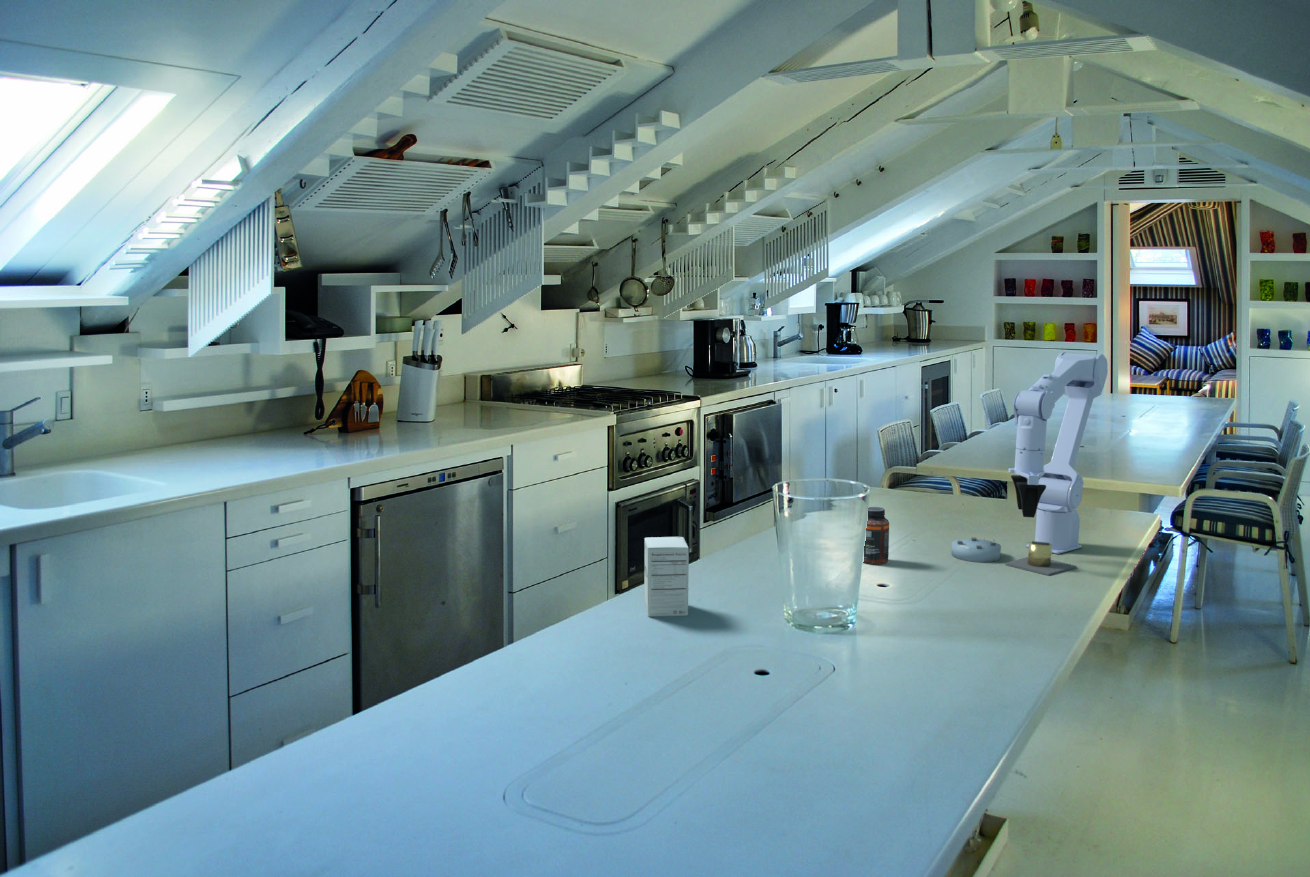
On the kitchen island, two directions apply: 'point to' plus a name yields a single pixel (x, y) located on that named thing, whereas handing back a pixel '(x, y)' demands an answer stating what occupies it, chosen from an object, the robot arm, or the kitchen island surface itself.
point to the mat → (1050, 570)
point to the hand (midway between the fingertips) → (1026, 513)
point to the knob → (1039, 554)
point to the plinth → (976, 550)
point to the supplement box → (666, 576)
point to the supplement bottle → (876, 537)
